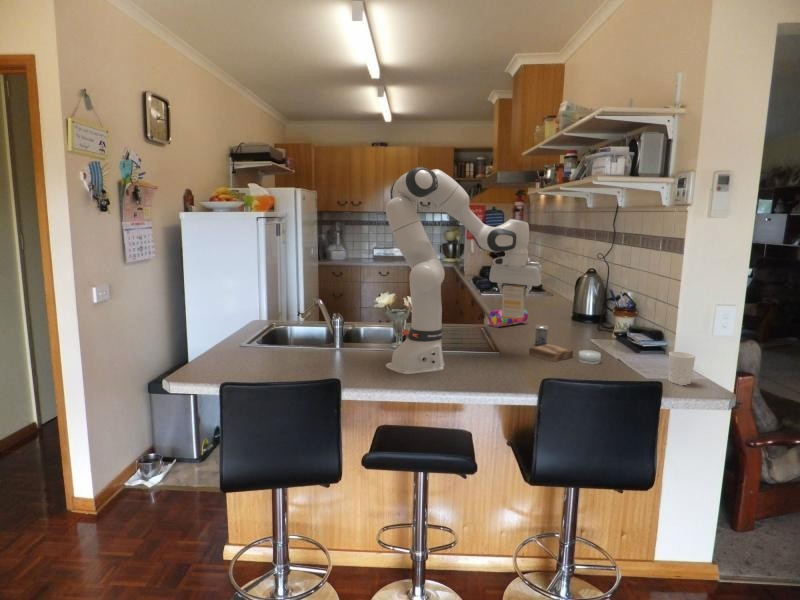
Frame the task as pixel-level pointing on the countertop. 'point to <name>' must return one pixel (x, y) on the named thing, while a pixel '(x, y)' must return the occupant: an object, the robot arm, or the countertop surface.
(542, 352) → the podium
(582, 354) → the ramekin
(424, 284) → the robot arm
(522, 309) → the supplement box
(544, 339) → the spice tin
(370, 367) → the countertop surface
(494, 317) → the pencil case
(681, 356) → the white cup
